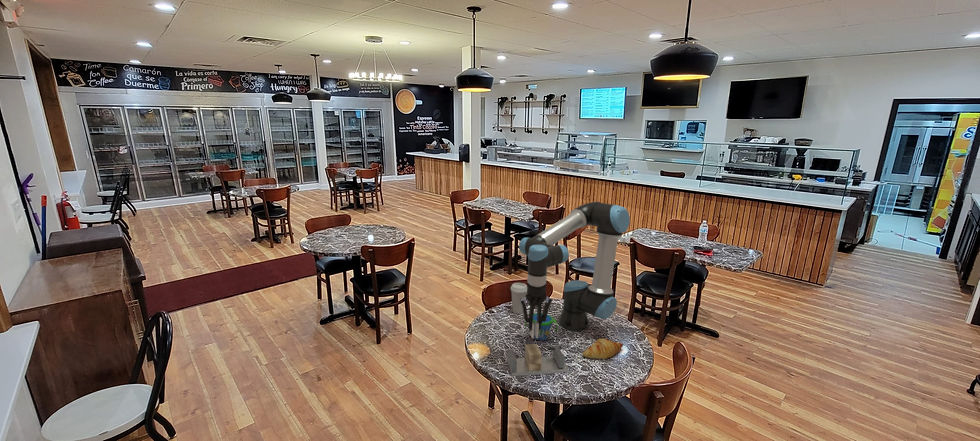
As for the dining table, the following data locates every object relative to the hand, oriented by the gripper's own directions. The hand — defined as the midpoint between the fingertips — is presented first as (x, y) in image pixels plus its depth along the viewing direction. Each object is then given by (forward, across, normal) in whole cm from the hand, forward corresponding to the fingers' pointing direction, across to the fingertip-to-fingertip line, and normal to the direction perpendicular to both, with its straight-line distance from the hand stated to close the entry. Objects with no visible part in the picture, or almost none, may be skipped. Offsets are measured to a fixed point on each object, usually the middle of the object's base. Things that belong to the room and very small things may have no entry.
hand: (534, 336), depth 168 cm
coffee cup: (+15, -5, -52) cm, 54 cm away
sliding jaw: (+13, -11, -1) cm, 17 cm away
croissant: (+15, -34, -7) cm, 38 cm away
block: (+13, 0, 0) cm, 13 cm away
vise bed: (+14, -2, 0) cm, 15 cm away
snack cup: (+15, -10, -24) cm, 30 cm away
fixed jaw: (+13, +9, 0) cm, 16 cm away
